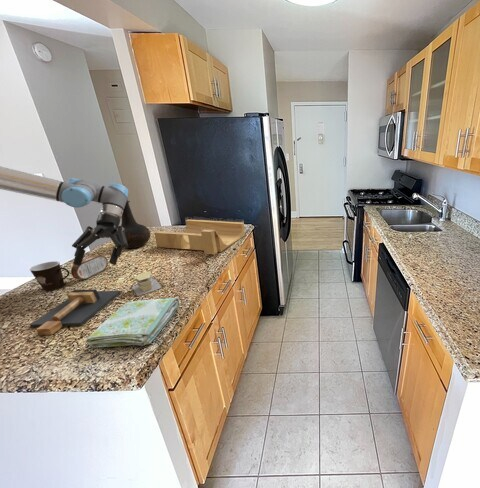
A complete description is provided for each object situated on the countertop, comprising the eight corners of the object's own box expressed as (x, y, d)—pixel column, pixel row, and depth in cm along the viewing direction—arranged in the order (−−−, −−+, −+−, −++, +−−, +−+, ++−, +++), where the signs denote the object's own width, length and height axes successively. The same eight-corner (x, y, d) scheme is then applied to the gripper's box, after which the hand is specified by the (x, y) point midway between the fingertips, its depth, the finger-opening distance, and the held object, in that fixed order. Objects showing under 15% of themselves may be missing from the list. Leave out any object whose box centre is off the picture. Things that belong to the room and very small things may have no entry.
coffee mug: (35, 290, 108) (24, 268, 104) (60, 280, 115) (51, 260, 111) (51, 295, 104) (41, 273, 100) (77, 285, 111) (68, 264, 108)
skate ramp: (245, 236, 170) (242, 212, 164) (214, 257, 137) (210, 228, 132) (190, 232, 176) (186, 209, 171) (148, 252, 144) (142, 224, 138)
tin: (105, 267, 127) (100, 251, 124) (111, 267, 127) (105, 251, 124) (74, 282, 113) (67, 265, 110) (80, 283, 113) (73, 265, 110)
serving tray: (30, 327, 86) (29, 324, 86) (79, 294, 105) (78, 291, 104) (81, 325, 87) (80, 322, 87) (121, 293, 106) (120, 290, 105)
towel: (85, 351, 77) (79, 337, 75) (131, 308, 96) (127, 296, 94) (149, 348, 77) (144, 335, 76) (181, 306, 97) (178, 294, 95)
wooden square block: (38, 335, 83) (35, 329, 82) (50, 326, 87) (47, 321, 86) (52, 334, 83) (49, 328, 82) (63, 326, 87) (60, 320, 86)
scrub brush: (78, 298, 100) (45, 324, 87) (73, 289, 98) (39, 315, 85) (100, 297, 100) (70, 323, 88) (96, 289, 98) (65, 314, 86)
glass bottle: (108, 249, 148) (91, 200, 137) (137, 238, 164) (124, 194, 153) (132, 253, 143) (116, 203, 132) (159, 241, 159) (148, 196, 148)
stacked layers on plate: (162, 287, 110) (159, 276, 107) (137, 296, 104) (133, 284, 102) (155, 279, 116) (152, 268, 114) (131, 286, 110) (128, 275, 108)
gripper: (145, 221, 115) (133, 266, 107) (86, 221, 114) (69, 267, 105) (134, 212, 108) (120, 260, 100) (71, 213, 107) (52, 261, 99)
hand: (94, 264), depth 103 cm, fingers open, 13 cm apart
